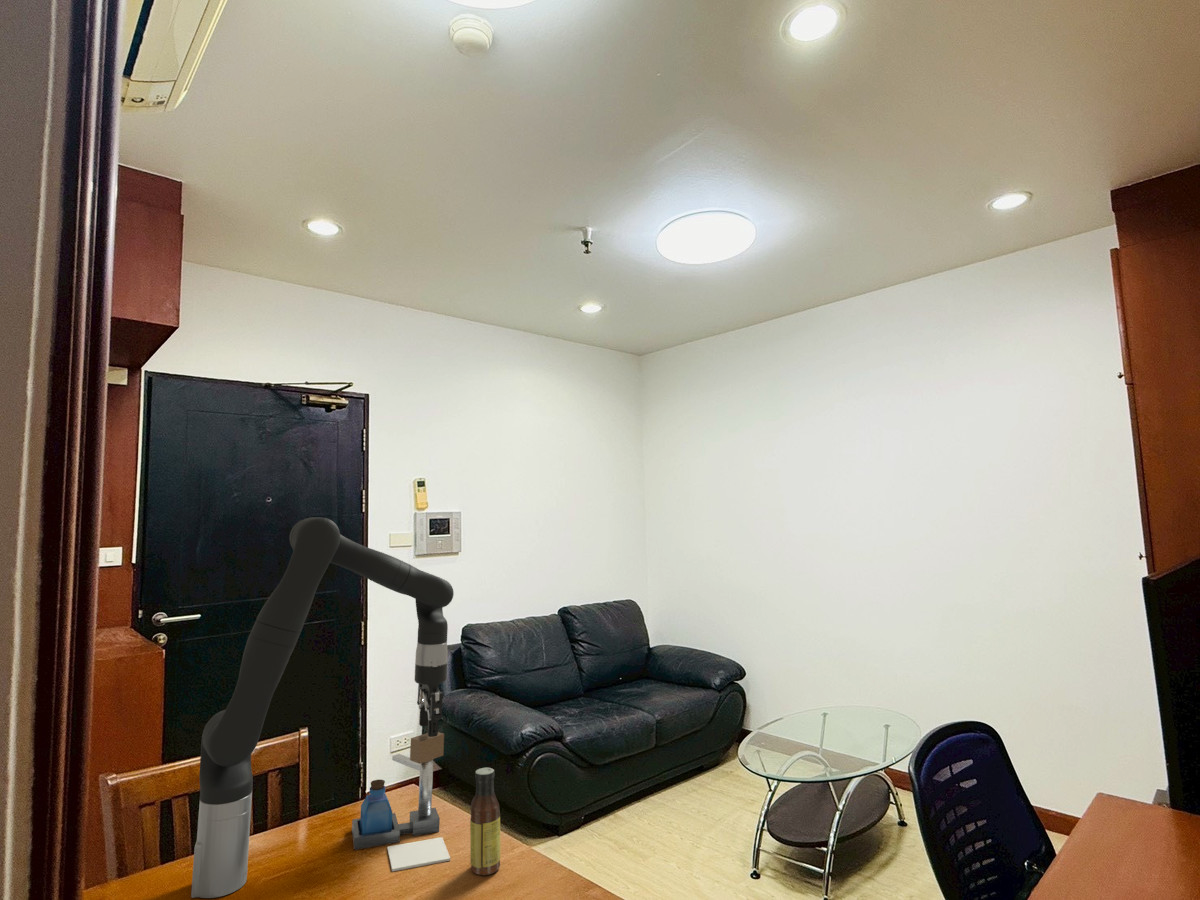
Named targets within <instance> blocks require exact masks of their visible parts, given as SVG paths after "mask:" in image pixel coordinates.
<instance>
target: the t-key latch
mask: <svg viewBox="0 0 1200 900" xmlns="http://www.w3.org/2000/svg"><path fill="white" fill-rule="evenodd" d="M444 744H445V733H443V732H439V731H438V735H437V736H434V737H429V736H428V732H426V733H424V734H420V735H417V736H414V737H411V738H410V748H409V749H410V751H409V753H410V754H409V757H408V756H406V755H404V754H400V753H398V754H394V755H392V756H391V757H392V758H391V761H394V762H396V763H398V764H401V765H404V766H405V767H409V768H411V769H414V770H416V771H419V780H418V781H419V783H418V784H419V785H418V806H417V808H418V809H417V810H418V815H419V816H428V815H430V814H431V808H432V807H433V806H432V804H433V803H432V801H433V779H434V778H433V776H434V775H433V774H434V759H437V758H440V757H443V756H444V748H445V747H444V746H445V745H444Z"/></svg>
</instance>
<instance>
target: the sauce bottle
mask: <svg viewBox="0 0 1200 900" xmlns="http://www.w3.org/2000/svg"><path fill="white" fill-rule="evenodd" d="M495 773H496V772H495V769H493V767H492V768H491V767H482V768H478V769H476V770H475V774H474V778H475V795H474V796H473V798H472V800H471V803H470V825H469V826H470V834H469V835H470V837H469V839H470V855H469V856H470V866H471V871H472V872H473V874H476V875H479V876H490V875H492V874H495V873H496V872H498V870H499V868H500V866H501V857H502V856H501V855H502V854H501V813H500V811H501V810H500V804H499V801H498V799H497V797H496V793H495V788H494V787H495V786H494V785H495V783H494V781H495V780H494V779H495V777H496V776H495V775H496V774H495Z"/></svg>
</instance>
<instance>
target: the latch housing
mask: <svg viewBox="0 0 1200 900" xmlns="http://www.w3.org/2000/svg"><path fill="white" fill-rule="evenodd" d="M439 815H440V814H439V813H438V810H437V808H436V807H431V814H430V815H428V816H419V815H418V809H417V810H411V811H409V822H403V823H399V822H398V818H397V815H396V813H395V812H392V830H388V831H382V832H376V833H370V834H364V835H360V817H359V818H354V819H352V821H351V822H352V825H351V833H352V842H353V843H352V844H353V850H354V851H357V850H362V849H368V848H374V847H379V846H386V845H391V844H396V843H400V836H403V835H409V834H411V835H412V837H415V836H420V835H421V836H422V835H427V834H428V835H429V834H434V833H438V832H440V821H441V819H440V816H439Z"/></svg>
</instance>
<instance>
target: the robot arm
mask: <svg viewBox="0 0 1200 900" xmlns="http://www.w3.org/2000/svg"><path fill="white" fill-rule="evenodd" d="M289 544H290V546H291V549H292V550H293V551H292V554H291V557H290V560H289V562H288V565H287V567H286V569H285V573H284V574H283V576H282V578H281V579H280V581H279V583H278V584H277V586H276V587H275V589H274V590H273V591H272V593H271V594H270V595H269V597H268V598H267V600H266V601H265V603H264V605H263V606H262V608H261V610H260V611H259V613H258V615H257V617H256V620H255V621H254V624H253V625H252V629H251V631H250V633H249V635H248V637H247V640H246V644H245V646H244V651H243V653H242V654H243V655H242V659H241V663H240V668H239V673H238V677H237V678H238V679H237V682H236V686H235V689H234V691H233V694H232V696H231V699H230V700H229V702H228V704H227V707H226V709H224V710H221V711H218V712H217V713H215V714H214V715H213V716H212V717H211V718H210V719H209V720H208V721H207V723H206V724H205V725H204V728H203V731H202V735H201V740H200V741H201V743H200V761H199V806H198V808H199V809H198V819H197V833H196V842H195V845H194V849H193V850H194V851H193V852H194V854H193V862H192V863H193V867H192V878H191V880H192V881H191V895H190V898H193V899H194V898H200V899H201V898H202V899H215V898H221V897H224V896H226V895H229V894H232V893H234V892H236V891H238V890H239V889H241V888H242V887H243V886H244V885H246V883H247V878H248V868H249V867H248V864H249V863H248V862H249V849H250V848H249V847H250V833H251V832H250V831H251V818H252V817H251V816H252V798H253V784H254V783H253V782H254V780H253V779H254V778H253V769H252V754H253V752H254V750H255V749H256V747H257V746H258V743H259V741H260V740H259V739H260V736H261V734H262V730H263V727H264V722H265V720H266V717H267V713H268V710H269V708H270V704H271V702H272V699H273V696H274V693H275V691H276V689H277V687H278V685H279V683H280V681H281V679H282V676H283V675H284V672H285V670H286V667H287V665H288V663H289V660H290V658H291V656H292V654H293V652H294V650H295V647H296V645H297V642H298V640H299V637H300V636H301V633H302V630H303V628H304V626H305V622H306V620H307V617H308V614H309V612H310V609H311V607H312V604H313V600H314V598H315V594H316V592H317V589H318V586H319V584H320V583H321V581H322V578H323V577H324V575H325V573H326V571H327V569H328V567H329V565H330V564H334V565H337V566H339V567H341V568H343V569H346V570H349V571H350V572H354V573H355V574H357V575H360V576H361V577H364V578H365V579H367V580H370V581H371V582H373V583H376V584H378V585H380V586H382V587H383V588H386V589H389V590H390V591H394V592H396V593H398V594H402V595H406V596H408V597H411V598H413V599H414V600H415V608H416V610H415V611H416V617H417V621H418V622H417V623H418V628H417V644H416V650H415V659H414V660H415V662H414V664H415V665H414V682H415V683H416V684H418V688H417V701H416V704H417V706H418V710H419V718H418V719H419V720H418V721H419V722H418V724H419V726H420V727H427V733H428V736H429V737H434V736H437V735H438V732H439V720H441V719H443V718H442V717H443V695H444V694H443V691H440V689H439V685H440V684H442V683H443V684H444V682H446V681H447V675H448V674H447V673H448V653H449V652H448V633H449V629H448V621H447V619H446V617H444V612H443V608H445V607H447V606H448V605H450V603H452V600H453V599H454V595H455V594H454V593H455V592H454V588H453V586H452V585H451V583H450V582H449V581H448V580H446V579H444V578H441V576H437V575H434V574H433V573H429V572H426V571H423V570H420V569H419V568H417V567H415V566H413V565H411V564H409V563H407V562H405V561H403V560H401V559H399V558H397V557H395V556H393V555H390V554H388V553H387V554H386V553H384V552H382V551H379V550H376V549H373V548H370V547H367V546H365V545H363V544H360V543H357V542H355V541H353V540H351V539H350V538H347V537H345V536H344V535H342V534H341V532H340V529H339V527H338V525H337V524H336V522H334V521H333V520H331V519H330V518H327V517H318V516H317V517H310V516H309V517H307V518H304V519H301V520H299V521H298V522H296V523H295V524H294V525H293V526H292V529H291V530H290V533H289Z"/></svg>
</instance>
